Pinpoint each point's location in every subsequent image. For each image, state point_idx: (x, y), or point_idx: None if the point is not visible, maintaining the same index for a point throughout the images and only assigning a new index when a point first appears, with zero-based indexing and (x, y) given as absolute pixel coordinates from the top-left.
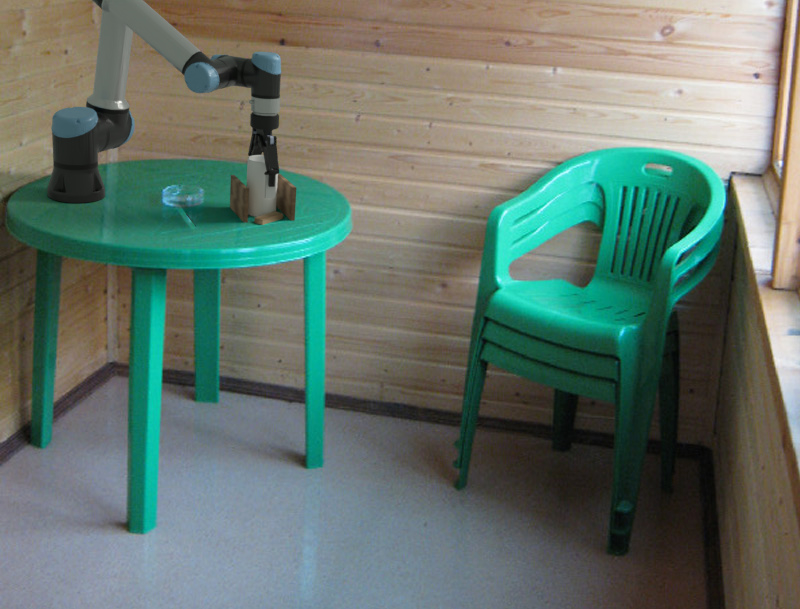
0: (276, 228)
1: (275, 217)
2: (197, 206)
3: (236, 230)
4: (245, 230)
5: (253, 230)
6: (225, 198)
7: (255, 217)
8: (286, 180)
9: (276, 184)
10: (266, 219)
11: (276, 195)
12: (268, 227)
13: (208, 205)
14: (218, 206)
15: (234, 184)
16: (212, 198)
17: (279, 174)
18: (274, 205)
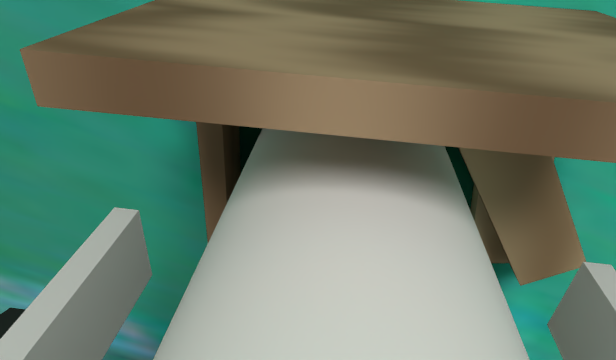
0: (611, 167)
1: (553, 167)
2: (159, 336)
3: (528, 332)
4: (549, 305)
5: (570, 278)
6: (14, 207)
7: (519, 280)
8: (425, 109)
9: (474, 255)
10: (578, 240)
11: (434, 168)
12: (567, 200)
13: (143, 302)
14: (157, 276)
15: None
16: (27, 256)
17: (56, 75)
18: (443, 151)
